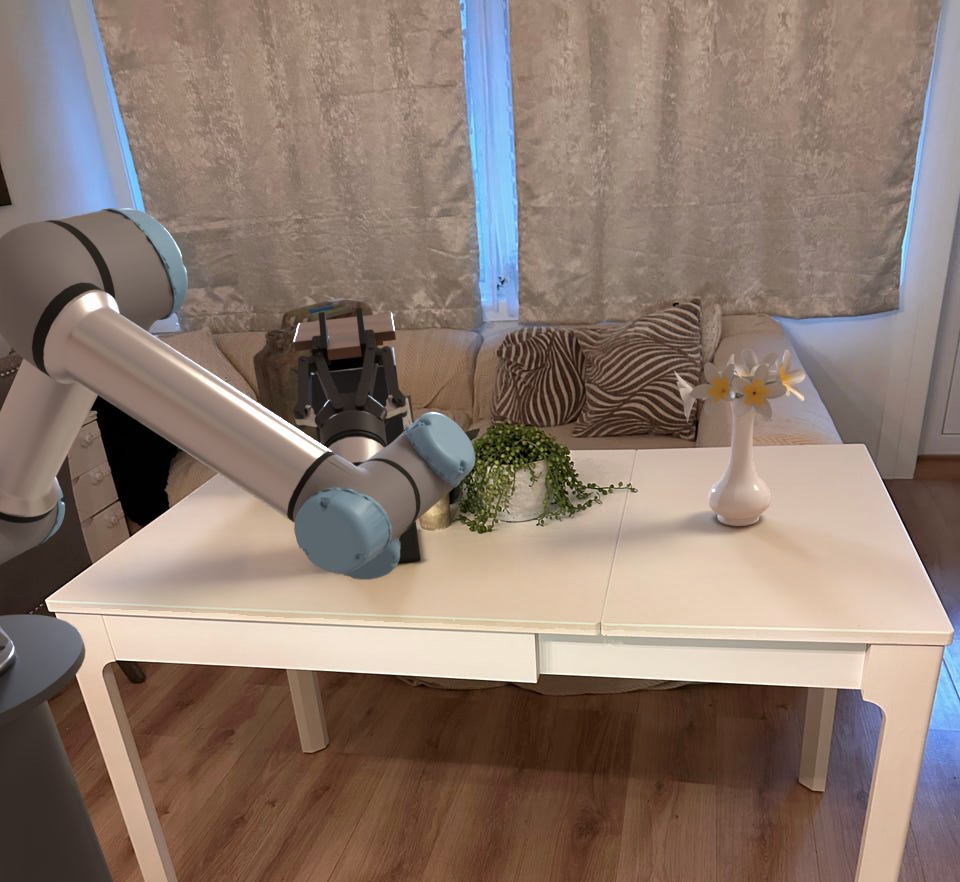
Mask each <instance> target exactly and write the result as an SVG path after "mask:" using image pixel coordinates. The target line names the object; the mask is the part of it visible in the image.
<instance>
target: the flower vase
mask: <svg viewBox="0 0 960 882" xmlns="http://www.w3.org/2000/svg"><path fill="white" fill-rule="evenodd" d="M779 357H780V354H779V353H778V352H777V351H771V352H768V353H767V354H765V355H763V357H762V358H760V360H758V356H757V355H756V353H755V352H754V351H753V350H752V349H751V348H748V347H744V348H742V351H741V359H742V362H743V364H741V363H735V361H734V360H735V353H732V354H731V355H730V357H729V359H728V361H727V363H726V366H725V367H724V368H723V370H721V371H719V370H718V368H717V367H716V366H715V365H714V364H713V363H712V362H710V361H709V362H708V361H707V362H706V363H704V366H703V374H704V377H705V380H706V381H707V383H703V384H699V385H697V386H695V387H692V386H691V385H690V384H688V383H687V382H686V381H685V380H684V379H683V378H682V377H681V376H680V375H679V374H678V373H677V372H676V371H675V370H673V371H674V375H675V377H676V379H677V381H676V385H677V389H678V391H679V395H680V398H681V400H682V402H683V412H684V417H685V418H686V423H688V422H689V420H690V415H691V412H692V408H693V405H694V403H695V401H696V399H697V400H698V399H700V400H702V401H706V402H705V404H704V408H703V410H704V415H705V416H710V415H712V414H713V413H714V411H715V410H716V409H717V407H718V405H719V403H720V402H721V401H723V402H728V403H729V405H730V411H731V412H730V413H731V423H732V424H731V438H730V439H731V440H730V451H729V457H728V458H729V459H728V463H727V465H726V468H725V471H724V472H723V474H722V475H721V477H720V478H719V479H718V480H716V482H714V483H713V485H711V487H710V489H709V492H708V494H707V495H708V496H707V504H708V506H709V508H710V509H711V511H713V512H714V513H715V514H716V515H717V520H718V521H719V522H720V523H721V524H723V525H727V526H732V527H746V526H751V525H754V524H756V523H758V521H759V520H760V517H761V516H760V515H762V514H764V513H765V512H766V511H767V510H768V509H769V507H770V505H771V503H772V492H771V490H770V488H769V487H768V484H767V483H766V482H765V481H764V480H763V479H762V478H761V477H760V476H759V474H758V472H757V470H756V467H755V462H754V451H753V450H754V449H753V448H754V420H755V416H756V415H757V416H758V417H759V418H760V419H761V420H763V421H765V422H768V421H770V420H771V419H772V418H773V417H772V416H773V410H772V406H771V403H770V402H769V400H774V399H778V398H781V397H782V396H784V395H785V396H786V397H790V396H791V395H792V396H794V397H795V398H796V399H797V400H799V401H800V402H803V403H804V402H805V396H804V393H803V392H802V391H801V388H800V387H798V386H797V384H800V383H802V382H804V380H805V378H806V374H805V371H804V370H803V369H801V368H793V369H791V367H792V356H791V352H790V351H789V350H788V349H785V351H784V353H783V357H782V361H780V360H779ZM774 365H775V369H772V368H773V366H774Z"/></svg>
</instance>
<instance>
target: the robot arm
mask: <svg viewBox="0 0 960 882" xmlns="http://www.w3.org/2000/svg"><path fill="white" fill-rule="evenodd" d="M188 283H189V282H188V272H187V268H186V266H185V265H184V263H183V255H182V253H181V250H180V248H179V246H178V244H177V242H176V241H175V239H174V238H173V236H172V235H171V234H170V232H169V231H168V230H167V229H166V227H165V226H164V225H162V223H161V222H160V221H158V220H157V219H156V218H154V217H153V216H152V215H150V214H149V213H147V212H146V211H145V212H144V211H142V210H139V209H135V208H129V207H128V208H127V207H125V208H115V207H106V208H103V209H100V210H95V211H90V212H85V213H79V214H74V215H70V216H64V217H58V218H53V219H49V220H41V221H32V222H27V223H24V224H20V225H19V226H16V227H14V228H12V229H10V230H9V231H8V232H6V233H5V234H2V236H1V237H0V335H1V336H2V338H3V339H4V340H5V342H6V343H7V344H8V346H9V347H10V348H12V350H14V351H15V352H16V353H17V354H18V355H19V356H20V357H21V358H22V361H21V363H20V365H19V368H18V369H17V373H16V374H15V377H14V379H13V382H12V384H11V387H10V389H9V391H8V393H7V395H6V397H5V400H4V401H3V402H4V403H3V405H2V407H1V409H0V565H2V564H4V563H6V562H9V561H10V560H12V559H14V558H16V557H17V556H19V555H21V554H23V553H25V552H27V551H30V550H33V549H35V548H37V547H39V546H40V545H42V544H44V543H45V542H46V541H47V540H49V538H51V537H52V536H53V535H55V534H56V532H58V530H59V529H60V527H61V526H62V524H63V521H64V518H65V512H66V504H65V502H63V501H62V499H63V497H64V494H63V491H62V487H61V486H60V484H59V481H58V478H57V475H58V473H59V472H60V470H61V467H62V465H63V463H64V462H65V460H66V458H67V456H68V453H69V452H70V450H71V448H72V447H73V444H74V442H75V440H76V438H77V437H78V434H79V433H80V431H81V429H82V427H83V425H84V423H85V421H86V419H87V417H88V415H89V413H90V411H91V410H92V407H93V405H94V403H95V401H96V400H97V398H98V396H99V397H100V398H102V399H103V400H104V401H106V402H108V403H109V404H111V405H113V406H114V407H115V408H117V409H119V410H120V411H122V412H123V413H125V414H126V415H128V416H129V417H131V418H133V419H134V420H136V421H137V422H139V424H141V425H143V426H145V427H147V429H149V430H150V431H152V432H154V433H155V434H156V435H158V436H160V437H162V438H164V439H165V440H167V441H168V442H169V443H171V444H172V445H174V446H176V447H177V448H179V449H180V450H182V451H183V452H185V453H186V454H188V455H189V456H191V457H192V458H194V459H195V460H197V461H199V462H200V463H202V464H203V465H205V466H206V467H208V468H209V469H211V470H213V471H214V472H216V473H217V474H219V475H220V476H222V477H223V478H224V479H226V480H228V481H229V482H231V483H232V484H234V485H236V486H237V487H238V488H239V489H242V490H243V491H245V492H246V493H248V494H249V495H251V496H252V497H254V498H256V499H257V500H259V501H260V502H262V503H263V504H265V505H266V506H268V507H269V508H271V509H273V510H274V511H276V512H277V513H279V514H280V515H282V516H283V517H285V518H286V519H288V520H289V521H291V522H292V523H294V528H293V531H294V535H295V539H296V543H297V545H298V547H299V548H300V549H301V550H303V552H304V554H305V555H306V557H307V560H309V562H311V564H313V565H315V566H316V567H318V568H319V569H321V570H323V571H326V572H328V573H333V574H341V575H343V576H345V577H350V578H351V579H354V580H360V581H361V580H362V581H368V580H369V581H370V580H376V579H379V578H383V577H385V576H387V575H389V574H390V573H392V572H393V571H394V570H395V569H396V568H397V566H398V565H399V564H398V562H399V559H400V549H401V547H400V546H401V544H400V541H399V538H400V536H401V535H402V534H403V533H404V532H405V531H406V530H407V529H408V528H410V527H411V526H412V524H413V523H415V521H416V522H417V521H418V520H419V518H421V517H422V516H423V515H425V514H426V513H428V511H430V509H431V508H433V507H434V506H435V505H436V504H438V503H439V502H440V501H441V500H442V499H443V498H444V497H446V495H448V494H449V493H450V492H452V490H453V489H455V488H457V487H458V486H459V485H460V484H461V482H462V481H463V480H464V479H465V478H466V476H468V475H469V474H470V473H471V472H472V470H473V469H474V468H475V467H474V466H475V464H476V453H475V448H474V446H473V444H472V441H471V439H470V438H469V436H468V435H467V434H466V432H465V431H464V430H463V429H462V428H461V427H460V426H459V424H458V423H457V422H456V421H454V420H453V419H451V418H450V417H448V416H447V415H445V414H443V413H439V412H435V411H430V412H426V413H423V414H421V415H420V416H419V417H418V418H417V419H416V420H414V422H413V423H412V424H411V425H408V426H407V427H406V428H405V431H404V432H403V433H402V434H401V435H400V436H399V437H398V438H397V439H395V440H394V441H393V442H392V443H391V444H389V445H388V446H387V441H386V433H385V426H386V424H387V423H388V418H390V417H392V416H395V415H398V416H399V417H402V418H403V417H406V416H407V406H406V398H405V396H404V395H405V394H403V392H402V391H401V390H400V388H398V386H399V382H398V383H397V379H398V377H397V378H396V373H395V367H394V362H393V357H392V352H391V348H390V347H391V346H388V345H383V346H382V347H379V346H378V347H377V346H376V342H375V335H374V331H373V330H372V329H370V330H365V326H364V319H363V313H362V308H357V309H356V314H357V324H358V333H359V342H360V347H361V355H362V361H364V362H363V368H362V374H361V379H360V383H359V384H358V390H357V391H356V392H352V393H349V394H347V393H338V390H337V388H336V386H335V384H334V382H333V379H332V377H331V374H330V372H329V369H328V366H327V365H331V360H329V359H328V353H327V347H328V339H329V337H328V328H327V323H326V317H325V312H321V313H319V325H320V335H319V336H313V337H312V348H311V350H312V355H311V356H309V357H306V356H300V357H299V358H298V402H297V404H296V406H295V408H294V410H293V414H294V418H295V422H296V425H297V428H298V429H300V430H302V429H305V428H306V427H307V426H313V427H316V429H317V431H318V432H319V433H320V438H321V444H320V443H318V442H317V441H315V440H314V439H312V438H311V437H309V436H308V435H306V434H305V433H303V432H301V431H300V430H298V429H297V428H295V427H294V426H292V425H291V424H289V423H288V422H286V421H284V420H283V419H281V418H280V417H278V416H277V415H275V414H274V413H272V412H271V411H269V410H267V409H266V408H264V407H263V406H261V403H258V402H257V401H256V400H254V399H252V398H251V397H249V396H247V395H246V394H245V393H243V392H241V391H240V390H238V389H236V388H235V387H234V386H233V385H230V384H229V383H227V382H225V381H224V380H222V378H220V377H218V376H217V375H215V374H214V373H212V372H210V371H209V370H207V369H205V368H204V367H203V366H201V365H199V364H198V363H196V362H195V361H193V360H192V359H190V358H189V357H187V356H186V355H184V354H183V353H181V352H180V351H178V350H176V349H175V348H173V347H172V346H171V345H169V344H167V343H166V342H164V341H163V340H161V339H160V338H158V337H156V336H155V335H153V334H152V333H150V332H149V331H150V329H151V327H152V326H153V325H154V324H155V323H156V322H157V321H164V320H168V319H169V318H171V317H172V316H173V315H174V314H175V313H177V312H178V311H179V310H180V309H181V308H182V306H183V304H184V302H185V301H186V297H187V293H188V288H189V287H188V285H189V284H188ZM378 364H383V367H384V372H385V378H386V383H387V389H388V394H389V396H388V399H387V400H386V404H387V405H386V406H385V407H383V406H382V405H381V404H379V403H378V402H377V401H376V400H374V399H373V398H372V396H373V390H374V384H375V378H376V372H377V366H378ZM378 367H379V366H378ZM314 371H316V372H317V374H318V377H319V380H320V382H321V385H322V388H323V390H324V393H325V395H326V398H327V401H328V402H327V403H326V404H325V405H324V407H323V408H322V409H321V410H320V411H319V413H318V414H317V415H315V414H314V410H313V408H312V394H311V373H312V372H314ZM16 658H17V654H16V651H15V648H14V646H13V643H12V641H11V640H10V638H9V636H8V635H7V634H6V633H5V632H4V631H3V630H2V628H1V626H0V677H1V676H2V675H4V674H5V673H6V672H7V671H8V670H9V669H10V668H11V667H12V666H13V664H14V663H15V661H16Z"/></svg>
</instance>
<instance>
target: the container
mask: <svg viewBox="0 0 960 882" xmlns="http://www.w3.org/2000/svg"><path fill="white" fill-rule="evenodd" d="M357 308H362V313H363V316H367V315H374V313H373V309H372V308H371V306H370V305H368V303H367V302H365V301H363V300H358V299H349V298H348V299H347V298H333V299H328V300H323V301H320V302H316V303H312V304H308V305H305V306H301V307H296V308H294V309H293V308H292V309H288V310H287V311H285V312H284V313H283V314H282V319H281V325H280V328H277V329H273V330H269V331H267V332H266V333H265V334H264V338H265V344H264V345H263V347H262V349H261V350H259V351H258V352H256V353H255V354H254V355H253V356H252V361H253V369H254V374H255V379H256V384H257V390H258V394H259V400H260V405H261V406H263V407H264V408H266V409H267V410H269V411H271V412H272V413H274V414H275V415H277V416H278V417H280V418H281V419H283V420H284V421H286V422H288V423H289V424H291V425H292V426H294V427H295V428H297V425H296V422H295V418H294V414H293V410H294V408H295V406H296V404H297V402H298V358H299V357H300V356H306V357H309V356H311V355H312V353H310V350H303V351H295V348H294V343H293V342H294V339H295V335H296V332H297V328H298V325H299V323H304V320H305V319H306V322H314V321H319V313H321V312H325V317H326V320H332V319H341V318H350V317H357V314H356V309H357ZM292 318H294V320H293V323H292V324H291V319H292ZM377 347H378V348H379V346H377ZM297 429H298V428H297ZM298 430H300V429H298ZM300 431H301V432H303V433H305V434H306V435H308V436H309V437H311V438H312V439H314V440H315V441H317V442H318V437H317V432H316V427H313V426H307V427H306V428H305V429H302V430H300Z"/></svg>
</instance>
